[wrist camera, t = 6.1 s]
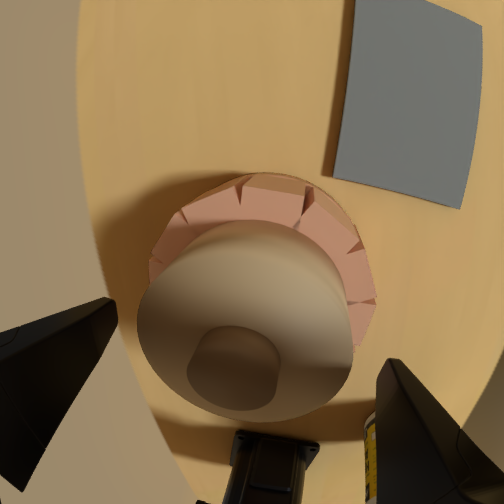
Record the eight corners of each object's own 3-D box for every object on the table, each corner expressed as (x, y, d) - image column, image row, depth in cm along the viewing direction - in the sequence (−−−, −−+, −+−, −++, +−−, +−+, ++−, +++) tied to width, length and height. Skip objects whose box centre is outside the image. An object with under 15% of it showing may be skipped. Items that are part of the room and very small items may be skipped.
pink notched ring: (334, 348, 15) (335, 398, 12) (182, 317, 16) (155, 358, 13) (380, 193, 12) (404, 217, 9) (187, 160, 13) (148, 173, 10)
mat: (456, 207, 11) (459, 209, 11) (332, 175, 12) (332, 177, 11) (477, 28, 7) (481, 26, 7) (355, -16, 8) (356, -20, 8)
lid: (320, 380, 12) (316, 456, 8) (174, 349, 12) (137, 413, 9) (367, 239, 9) (396, 306, 6) (173, 205, 10) (107, 248, 6)
